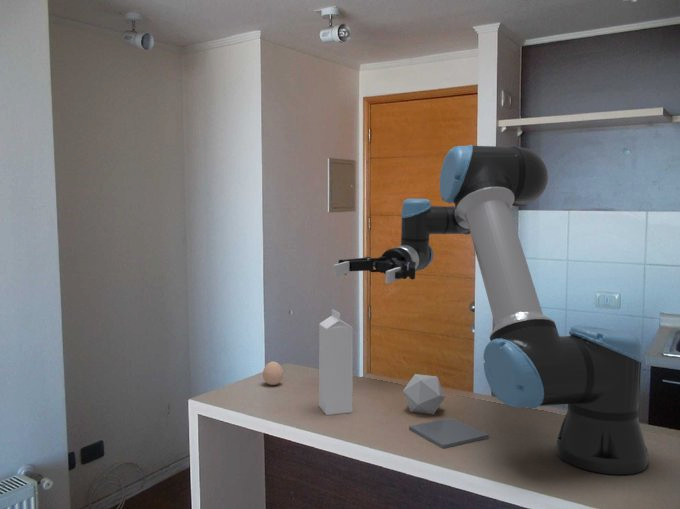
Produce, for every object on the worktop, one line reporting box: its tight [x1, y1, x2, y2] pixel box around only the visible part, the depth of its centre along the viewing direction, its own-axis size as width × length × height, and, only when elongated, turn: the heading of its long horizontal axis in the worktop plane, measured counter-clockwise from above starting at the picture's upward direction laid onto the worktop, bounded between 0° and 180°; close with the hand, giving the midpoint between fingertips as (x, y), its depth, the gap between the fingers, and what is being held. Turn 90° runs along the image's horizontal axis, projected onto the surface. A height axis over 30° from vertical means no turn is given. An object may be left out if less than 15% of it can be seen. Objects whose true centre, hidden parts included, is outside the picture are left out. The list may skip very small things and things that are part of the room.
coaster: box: [408, 417, 489, 449], centre depth 121 cm, size 11×11×1 cm
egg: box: [262, 361, 284, 386], centre depth 154 cm, size 5×5×6 cm
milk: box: [318, 308, 354, 416], centre depth 134 cm, size 6×6×22 cm
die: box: [402, 373, 446, 416], centre depth 134 cm, size 8×9×10 cm
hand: (359, 274), depth 139 cm, fingers open, 13 cm apart
